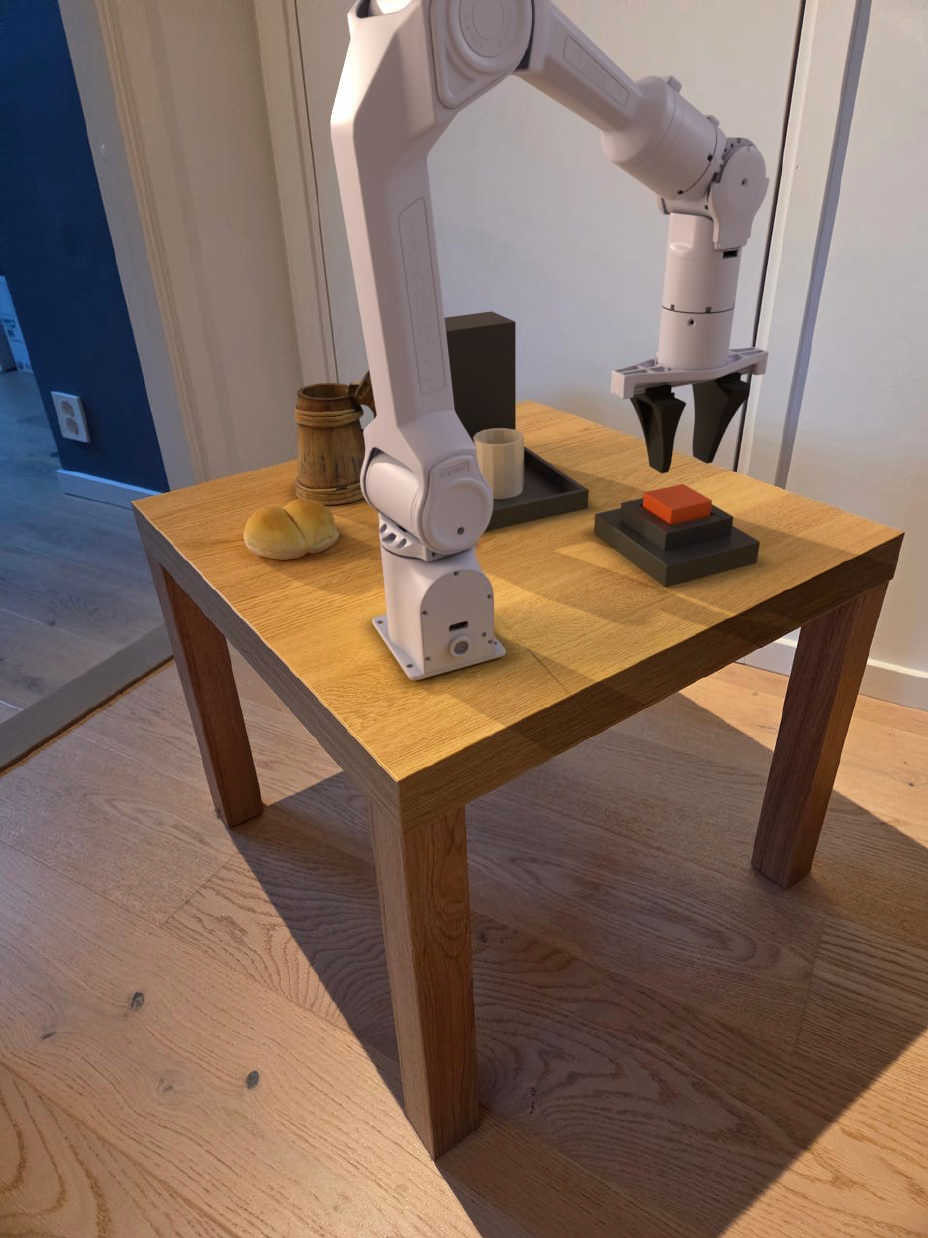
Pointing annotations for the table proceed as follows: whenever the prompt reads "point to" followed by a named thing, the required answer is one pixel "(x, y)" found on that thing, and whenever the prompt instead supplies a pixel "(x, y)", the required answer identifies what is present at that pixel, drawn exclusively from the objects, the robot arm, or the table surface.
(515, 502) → the tray
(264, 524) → the bread roll
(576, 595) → the table surface
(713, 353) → the robot arm
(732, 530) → the control block
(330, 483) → the wooden mug
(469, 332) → the block
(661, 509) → the button
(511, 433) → the cream cup
